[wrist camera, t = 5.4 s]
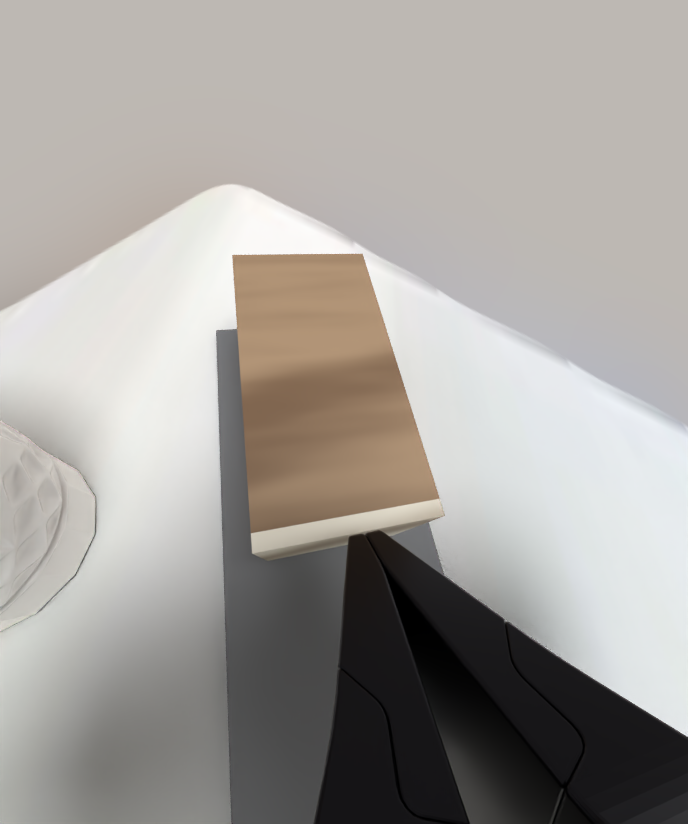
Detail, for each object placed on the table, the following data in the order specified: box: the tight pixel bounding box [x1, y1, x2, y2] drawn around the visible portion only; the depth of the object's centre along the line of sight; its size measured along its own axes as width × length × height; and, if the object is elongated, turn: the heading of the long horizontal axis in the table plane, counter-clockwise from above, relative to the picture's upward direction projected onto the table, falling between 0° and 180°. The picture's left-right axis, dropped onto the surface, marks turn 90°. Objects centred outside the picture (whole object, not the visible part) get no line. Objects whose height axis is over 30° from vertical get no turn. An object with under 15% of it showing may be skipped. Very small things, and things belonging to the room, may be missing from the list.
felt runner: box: [216, 329, 444, 824], centre depth 15 cm, size 20×9×1 cm, turn 11°
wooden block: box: [232, 254, 445, 561], centre depth 14 cm, size 6×6×11 cm
